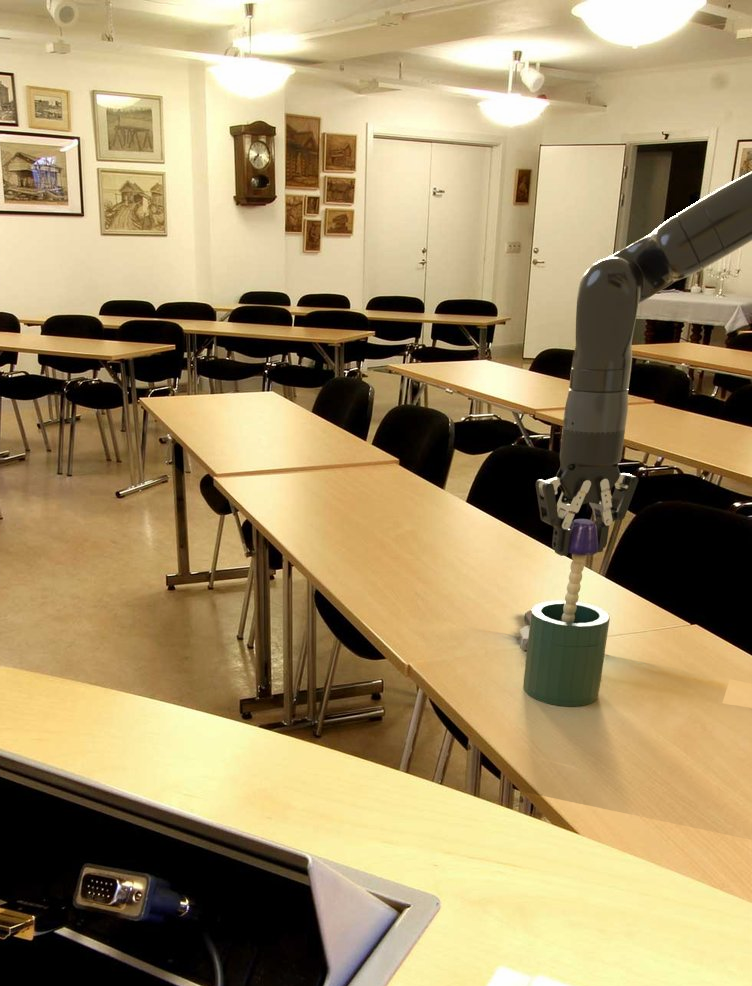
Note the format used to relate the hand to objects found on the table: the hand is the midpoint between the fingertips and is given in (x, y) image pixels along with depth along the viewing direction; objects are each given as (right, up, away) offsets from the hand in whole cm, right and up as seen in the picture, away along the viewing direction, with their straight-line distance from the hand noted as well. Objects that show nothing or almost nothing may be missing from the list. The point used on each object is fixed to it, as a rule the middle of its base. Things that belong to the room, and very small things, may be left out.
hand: (578, 551), depth 123 cm
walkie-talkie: (+4, -13, +22) cm, 27 cm away
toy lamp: (0, -12, +5) cm, 13 cm away
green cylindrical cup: (0, -19, +8) cm, 21 cm away
